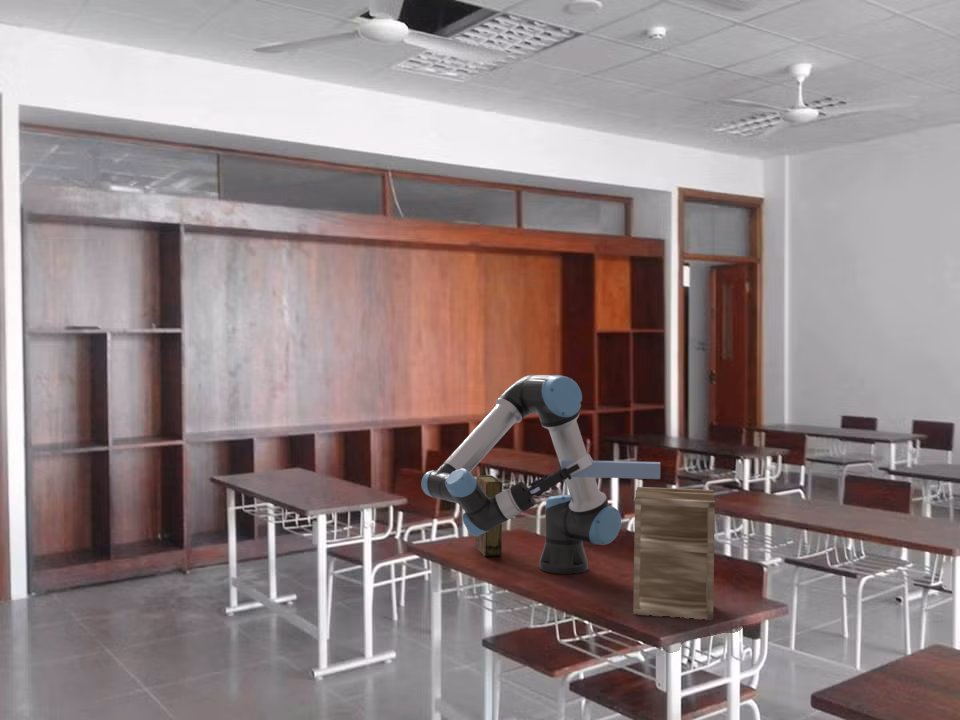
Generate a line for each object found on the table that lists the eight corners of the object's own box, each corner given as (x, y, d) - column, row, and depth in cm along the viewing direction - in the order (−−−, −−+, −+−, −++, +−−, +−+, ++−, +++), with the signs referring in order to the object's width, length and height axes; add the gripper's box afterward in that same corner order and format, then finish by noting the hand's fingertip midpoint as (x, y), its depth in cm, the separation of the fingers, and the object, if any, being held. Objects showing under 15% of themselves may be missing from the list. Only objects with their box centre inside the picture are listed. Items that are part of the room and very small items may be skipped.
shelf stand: (636, 600, 245) (637, 485, 245) (711, 605, 240) (713, 488, 240) (633, 614, 231) (635, 492, 231) (713, 620, 227) (714, 496, 227)
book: (475, 547, 311) (475, 475, 311) (490, 546, 312) (491, 475, 312) (485, 557, 295) (486, 481, 295) (501, 557, 296) (502, 481, 296)
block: (563, 474, 244) (563, 459, 244) (660, 477, 238) (660, 462, 238) (561, 476, 240) (561, 461, 240) (660, 479, 234) (660, 463, 234)
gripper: (527, 507, 252) (600, 467, 248) (517, 517, 235) (595, 474, 231) (514, 483, 253) (586, 443, 249) (503, 492, 236) (580, 449, 232)
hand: (590, 458), depth 240 cm, fingers closed on block, 4 cm apart
